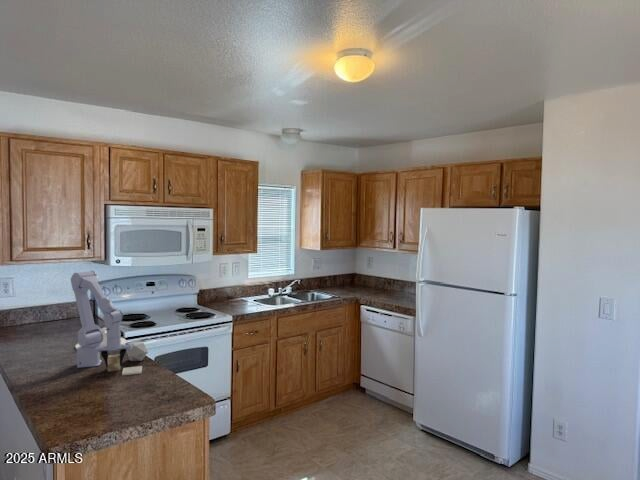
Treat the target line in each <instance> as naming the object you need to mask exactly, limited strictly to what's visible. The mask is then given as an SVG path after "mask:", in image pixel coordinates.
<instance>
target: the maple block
mask: <svg viewBox="0 0 640 480" xmlns="http://www.w3.org/2000/svg"><path fill="white" fill-rule="evenodd" d="M107 362H108V368H107V372H118V371H120V370H121V368H122V366H120V353H119V354H110V355H109V354H108V358H107Z"/></svg>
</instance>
